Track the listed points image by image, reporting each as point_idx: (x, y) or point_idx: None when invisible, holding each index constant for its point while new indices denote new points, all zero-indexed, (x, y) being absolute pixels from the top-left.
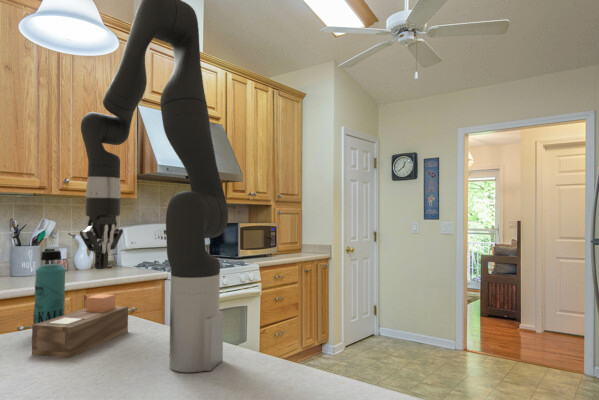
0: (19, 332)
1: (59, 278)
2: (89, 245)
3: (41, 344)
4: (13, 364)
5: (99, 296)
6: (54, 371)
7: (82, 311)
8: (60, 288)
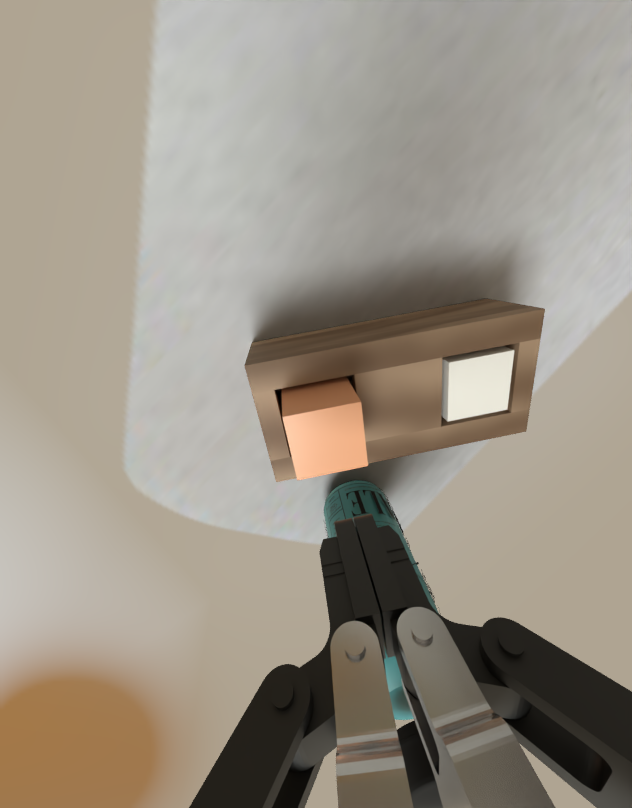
0: None
1: None
2: (555, 722)
3: None
4: (535, 376)
5: (336, 443)
6: (570, 249)
7: None
8: None
